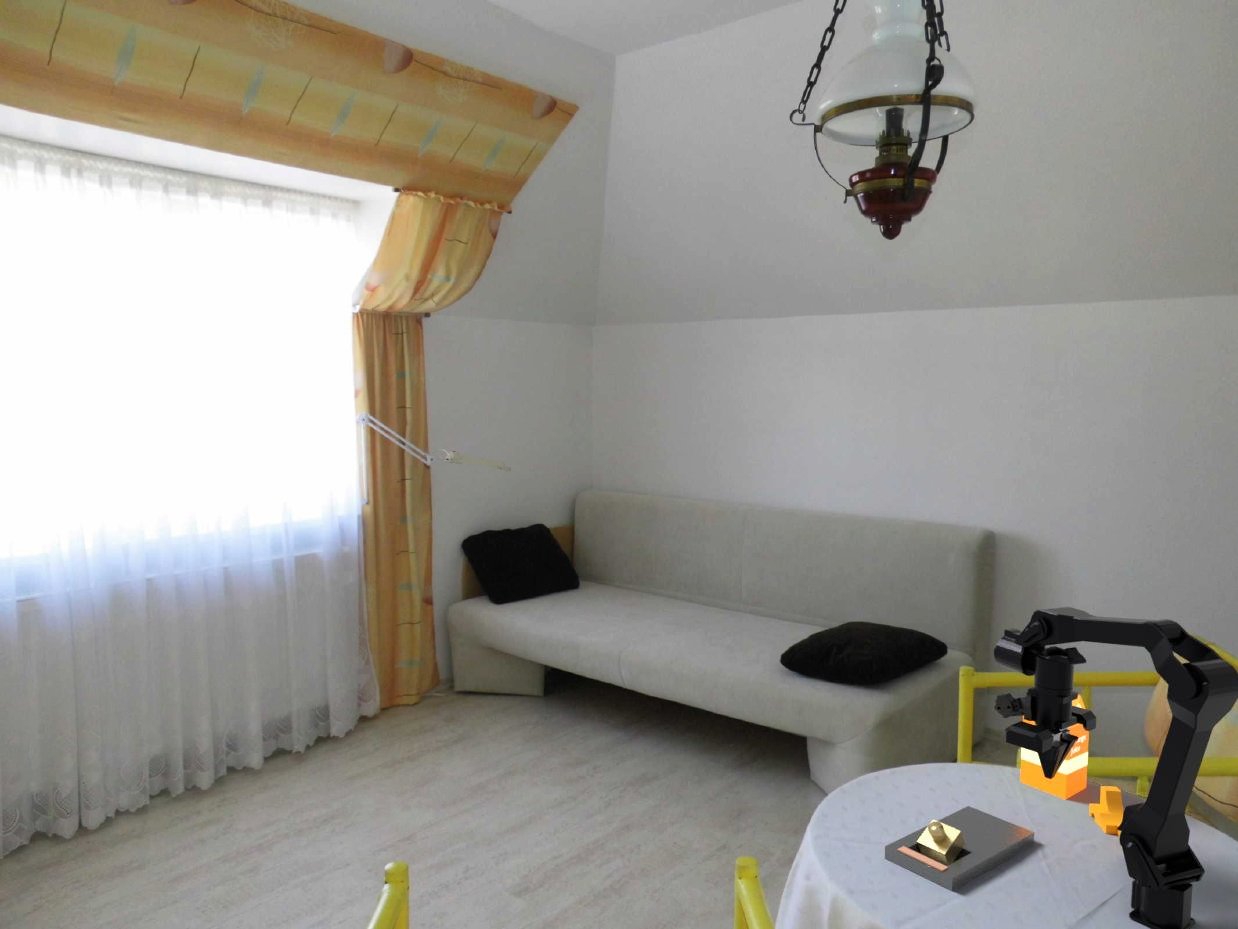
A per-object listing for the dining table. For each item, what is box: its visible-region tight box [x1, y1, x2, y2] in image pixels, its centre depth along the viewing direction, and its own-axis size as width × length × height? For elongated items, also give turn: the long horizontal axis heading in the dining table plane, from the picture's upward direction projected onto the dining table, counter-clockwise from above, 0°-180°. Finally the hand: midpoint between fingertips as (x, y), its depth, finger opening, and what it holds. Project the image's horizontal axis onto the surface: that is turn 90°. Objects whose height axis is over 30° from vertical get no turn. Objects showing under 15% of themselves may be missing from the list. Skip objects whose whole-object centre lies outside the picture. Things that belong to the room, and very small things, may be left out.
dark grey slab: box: [884, 805, 1035, 892], centre depth 148 cm, size 12×24×2 cm, turn 128°
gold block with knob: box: [917, 819, 965, 866], centre depth 145 cm, size 5×5×5 cm
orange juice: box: [1019, 694, 1090, 801], centre depth 169 cm, size 8×9×20 cm
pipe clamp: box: [1088, 785, 1125, 838], centre depth 153 cm, size 12×4×6 cm, turn 176°
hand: (1048, 778), depth 148 cm, fingers closed
